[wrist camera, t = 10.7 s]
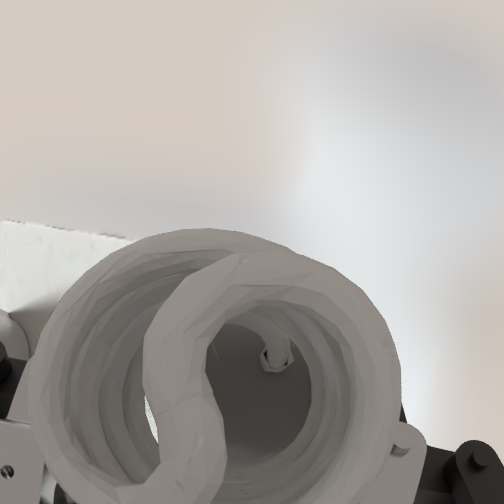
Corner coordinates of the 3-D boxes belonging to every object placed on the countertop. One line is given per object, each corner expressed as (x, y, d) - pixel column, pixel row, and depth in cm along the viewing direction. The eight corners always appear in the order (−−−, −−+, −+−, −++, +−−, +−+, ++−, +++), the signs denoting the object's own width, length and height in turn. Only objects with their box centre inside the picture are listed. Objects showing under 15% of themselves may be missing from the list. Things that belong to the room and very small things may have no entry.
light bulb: (249, 472, 12) (218, 662, 1) (158, 395, 13) (-65, 368, 2) (328, 383, 14) (522, 340, 3) (236, 310, 15) (182, 100, 4)
